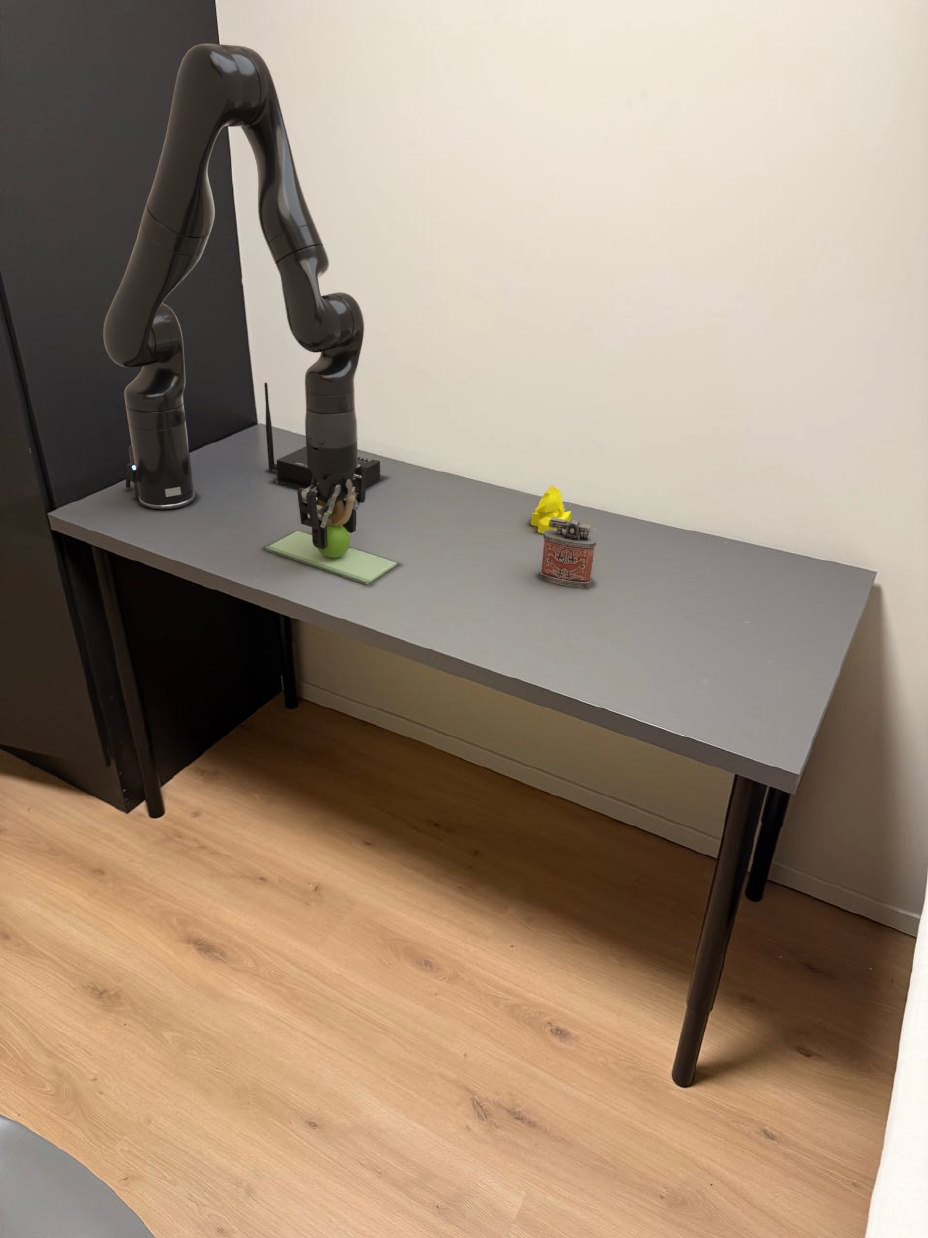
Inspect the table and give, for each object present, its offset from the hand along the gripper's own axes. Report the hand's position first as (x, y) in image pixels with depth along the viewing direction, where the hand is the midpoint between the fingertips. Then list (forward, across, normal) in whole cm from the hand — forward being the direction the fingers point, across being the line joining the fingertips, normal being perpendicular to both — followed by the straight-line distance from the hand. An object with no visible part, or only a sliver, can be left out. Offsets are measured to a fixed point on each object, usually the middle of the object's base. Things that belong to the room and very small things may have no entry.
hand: (335, 538), depth 143 cm
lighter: (+4, -15, +33) cm, 36 cm away
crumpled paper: (+4, -32, +22) cm, 39 cm away
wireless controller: (+4, -25, -23) cm, 34 cm away
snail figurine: (+3, 0, 0) cm, 3 cm away
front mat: (+4, 0, -1) cm, 4 cm away
